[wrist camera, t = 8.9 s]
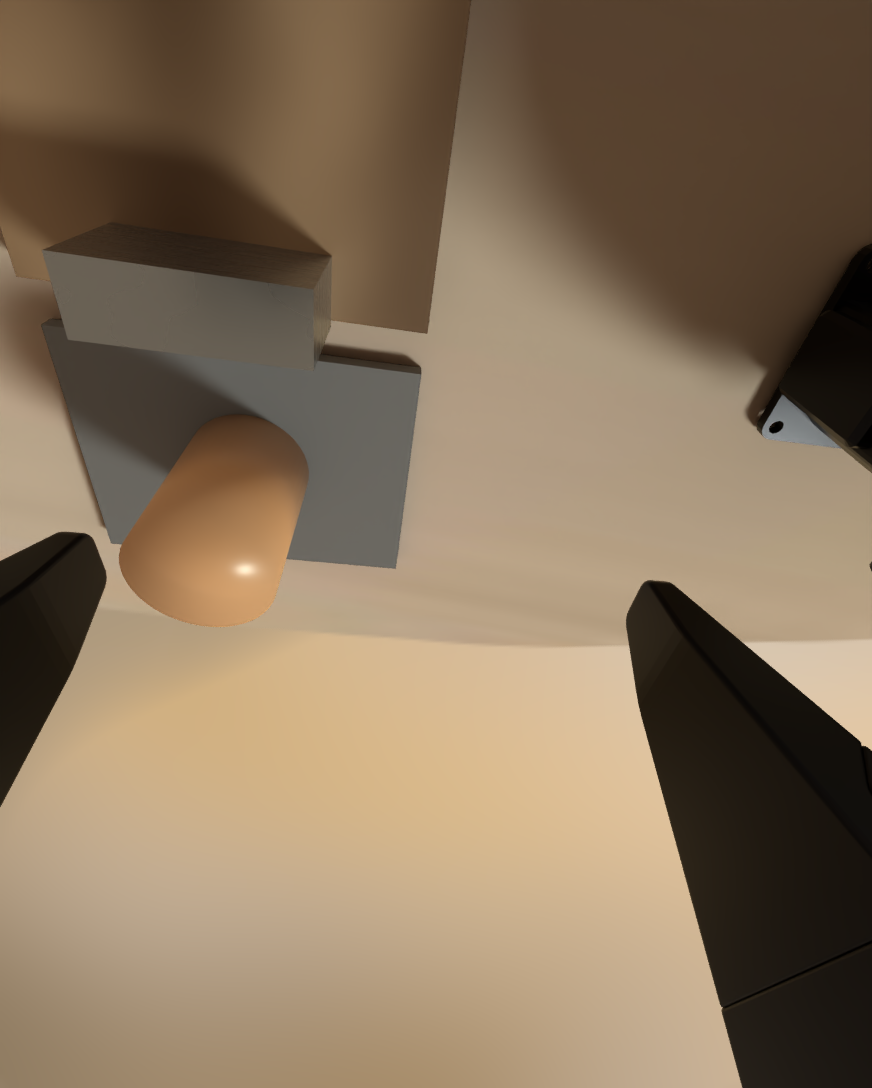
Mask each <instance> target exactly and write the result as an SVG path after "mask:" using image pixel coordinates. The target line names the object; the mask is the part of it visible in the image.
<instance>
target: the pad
mask: <svg viewBox="0 0 872 1088" xmlns="http://www.w3.org/2000/svg"><path fill="white" fill-rule="evenodd" d="M41 327H42V330H43V333H44V336H45V339H46V342H47V345H48V348H49V351H50V355H51V358H52V361H53V364H54V367H55V370H56V373H57V376H58V379H59V383H60V386H61V389H62V392H63V395H64V398H65V401H66V404H67V407H68V411H69V414H70V417H71V420H72V423H73V426H74V429H75V432H76V436H77V439H78V442H79V445H80V448H81V451H82V454H83V457H84V460H85V464H86V467H87V470H88V473H89V476H90V479H91V482H92V485H93V488H94V492H95V495H96V498H97V501H98V504H99V507H100V510H101V513H102V517H103V520H104V523H105V526H106V529H107V532H108V535H109V538H110V541H111V543H112V544H122V543H123V541H124V540H125V538H126V537H127V535H128V534H129V532H130V531H131V529H132V528H133V526H134V525H135V523H136V522H137V520H138V519H139V517H140V516H141V514H142V513H143V511H144V510H145V508H146V507H147V505H148V504H149V502H150V501H151V499H152V498H153V496H154V495H155V493H156V492H157V490H158V489H159V487H160V486H161V484H162V483H163V481H164V480H165V478H166V477H167V475H168V474H169V472H170V471H171V469H172V468H173V466H174V465H175V463H176V462H177V460H178V459H179V457H180V456H181V454H182V453H183V451H184V450H185V448H186V447H187V445H188V444H189V442H190V441H191V439H192V438H193V436H194V435H195V433H196V432H197V431H198V430H199V429H200V427H201V426H203V425H204V424H205V423H207V422H208V421H210V420H212V419H214V418H217V417H220V416H225V415H234V414H240V415H249V416H254V417H258V418H261V419H264V420H266V421H269V422H271V423H273V424H275V425H276V426H278V427H280V428H281V429H283V430H284V431H285V432H286V433H288V434H289V435H290V436H291V437H292V438H293V439H294V440H295V441H296V443H297V444H298V445H299V447H300V448H301V450H302V452H303V453H304V455H305V458H306V460H307V464H308V469H309V480H308V485H307V488H306V492H305V495H304V499H303V502H302V506H301V509H300V513H299V516H298V520H297V523H296V527H295V530H294V534H293V537H292V540H291V544H290V547H289V551H288V554H287V558H286V559H293V560H304V561H315V562H326V563H338V564H349V565H360V566H371V567H383V568H394V569H396V563H397V555H398V548H399V540H400V532H401V525H402V517H403V509H404V502H405V494H406V487H407V479H408V471H409V464H410V456H411V448H412V441H413V433H414V425H415V418H416V410H417V402H418V395H419V387H420V380H421V367H413V366H406V365H398V364H391V363H383V362H375V361H368V360H360V359H353V358H345V357H337V356H330V355H322V354H320V356H319V359H318V361H317V364H316V367H315V369H314V371H309V370H301V369H293V368H285V367H277V366H270V365H262V364H254V363H246V362H238V361H231V360H223V359H215V358H207V357H199V356H192V355H184V354H176V353H168V352H160V351H153V350H145V349H137V348H129V347H121V346H114V345H106V344H98V343H90V342H82V341H75V340H68V338H67V335H66V331H65V328H64V324H63V321H62V320H57V319H50V320H48V321H46V322H45V323H43V324H42V325H41Z"/></svg>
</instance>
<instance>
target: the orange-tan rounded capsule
mask: <svg viewBox="0 0 872 1088" xmlns="http://www.w3.org/2000/svg"><path fill="white" fill-rule="evenodd" d="M308 480H309V469H308V464H307V460H306V458H305V455H304V453H303V452H302V450H301V448H300V447H299V445H298V444H297V443H296V441H295V440H294V439H293V438H292V437H291V436H290V435H289V434H288V433H286V432H285V431H284V430H283V429H281V428H280V427H278V426H276V425H275V424H273V423H271V422H269V421H266V420H264V419H261V418H258V417H254V416H249V415H240V414H234V415H225V416H220V417H217V418H214V419H212V420H210V421H208V422H207V423H205V424H204V425H203V426H201V427H200V429H199V430H198V431H197V432H196V433H195V435H194V436H193V438H192V439H191V441H190V442H189V444H188V445H187V447H186V448H185V450H184V451H183V453H182V454H181V456H180V457H179V459H178V460H177V462H176V463H175V465H174V466H173V468H172V469H171V471H170V472H169V474H168V475H167V477H166V478H165V480H164V481H163V483H162V484H161V486H160V487H159V489H158V490H157V492H156V493H155V495H154V496H153V498H152V499H151V501H150V502H149V504H148V505H147V507H146V508H145V510H144V511H143V513H142V514H141V516H140V517H139V519H138V520H137V522H136V523H135V525H134V526H133V528H132V529H131V531H130V532H129V534H128V535H127V537H126V538H125V540H124V541H123V543H122V546H121V548H120V553H119V564H120V568H121V572H122V574H123V576H124V578H125V580H126V582H127V584H128V585H129V586H130V588H131V589H132V590H133V591H134V592H135V593H136V594H137V595H138V596H139V597H140V598H141V599H142V600H143V601H144V602H146V603H147V604H148V605H150V606H151V607H153V608H154V609H156V610H158V611H159V612H161V613H163V614H165V615H167V616H169V617H172V618H174V619H177V620H180V621H183V622H187V623H190V624H195V625H200V626H209V627H227V626H234V625H239V624H243V623H246V622H249V621H252V620H253V619H255V618H257V617H259V616H260V615H262V614H263V613H264V612H265V611H266V610H267V609H268V608H269V607H270V606H271V604H272V603H273V601H274V598H275V596H276V593H277V589H278V586H279V582H280V579H281V575H282V572H283V568H284V565H285V561H286V558H287V554H288V551H289V547H290V544H291V540H292V537H293V534H294V530H295V527H296V523H297V520H298V516H299V513H300V509H301V506H302V502H303V499H304V495H305V492H306V488H307V485H308Z"/></svg>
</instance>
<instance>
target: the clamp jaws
mask: <svg viewBox="0 0 872 1088" xmlns="http://www.w3.org/2000/svg"><path fill="white" fill-rule="evenodd" d="M42 253H43V256H44V260H45V263H46V267H47V270H48V273H49V277H50V280H51V284H52V287H53V290H54V294H55V297H56V301H57V304H58V307H59V311H60V314H61V318H62V321H63V324H64V328H65V331H66V335H67V338H68V340H75V341H82V342H90V343H98V344H106V345H114V346H121V347H129V348H137V349H145V350H153V351H160V352H168V353H176V354H184V355H192V356H199V357H207V358H215V359H223V360H231V361H238V362H246V363H254V364H262V365H270V366H277V367H285V368H293V369H301V370H309V371H314V369H315V367H316V364H317V361H318V359H319V356H320V354H321V351H322V348H323V346H324V343H325V340H326V338H327V335H328V333H329V330H330V327H331V283H332V256H330V255H324V254H317V253H310V252H304V251H297V250H291V249H284V248H278V247H271V246H265V245H258V244H252V243H245V242H238V241H232V240H225V239H219V238H212V237H206V236H199V235H193V234H186V233H179V232H173V231H166V230H160V229H153V228H147V227H140V226H134V225H127V224H121V223H114V222H110V223H107V224H105V225H102V226H100V227H97V228H95V229H92V230H90V231H87V232H85V233H82V234H80V235H77V236H75V237H73V238H70V239H68V240H65V241H63V242H60V243H58V244H55V245H53V246H50V247H48V248H45V249H43V250H42Z"/></svg>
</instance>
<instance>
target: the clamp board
mask: <svg viewBox="0 0 872 1088" xmlns="http://www.w3.org/2000/svg"><path fill="white" fill-rule="evenodd" d="M470 5H471V0H0V228H1V231H2V234H3V237H4V240H5V243H6V246H7V249H8V252H9V255H10V258H11V261H12V264H13V267H14V271H15V274H16V276H17V277H24V278H31V279H39V280H46V281H51V280H50V277H49V273H48V270H47V267H46V263H45V260H44V256H43V253H42V250H43V249H45V248H48V247H50V246H53V245H55V244H58V243H60V242H63V241H65V240H68V239H70V238H73V237H75V236H77V235H80V234H82V233H85V232H87V231H90V230H92V229H95V228H97V227H100V226H102V225H105V224H107V223H110V222H114V223H121V224H127V225H134V226H140V227H147V228H153V229H160V230H166V231H173V232H179V233H186V234H193V235H199V236H206V237H212V238H219V239H225V240H232V241H238V242H245V243H252V244H258V245H265V246H271V247H278V248H284V249H291V250H297V251H304V252H310V253H317V254H324V255H330V256H332V283H331V320H333V321H340V322H347V323H354V324H362V325H369V326H376V327H383V328H390V329H398V330H405V331H412V332H419V333H426V334H427V332H428V324H429V316H430V309H431V301H432V294H433V286H434V278H435V271H436V263H437V256H438V248H439V240H440V233H441V225H442V218H443V210H444V202H445V195H446V187H447V180H448V172H449V165H450V157H451V149H452V142H453V134H454V127H455V119H456V111H457V104H458V96H459V89H460V81H461V73H462V66H463V58H464V51H465V43H466V35H467V28H468V20H469V13H470Z"/></svg>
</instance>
